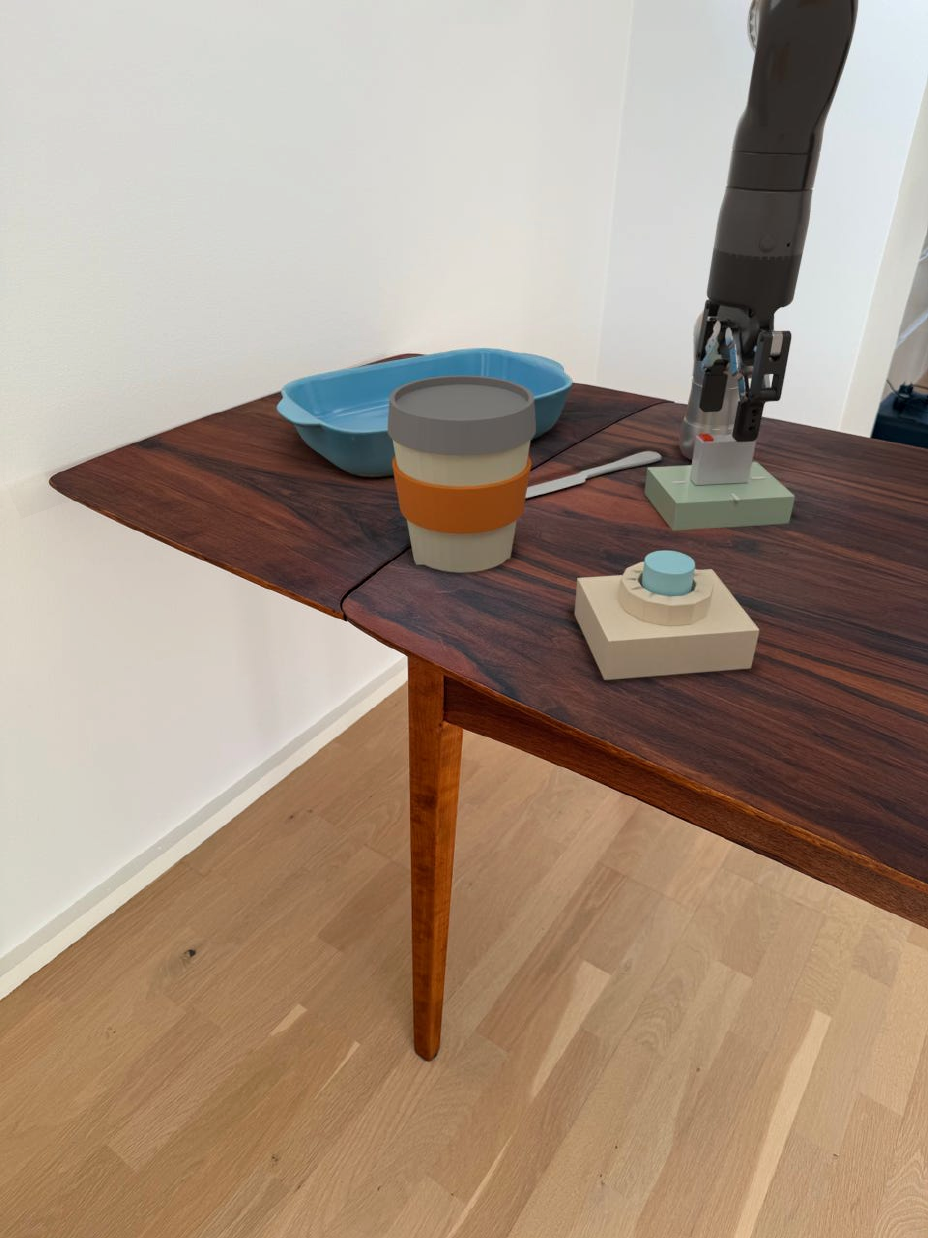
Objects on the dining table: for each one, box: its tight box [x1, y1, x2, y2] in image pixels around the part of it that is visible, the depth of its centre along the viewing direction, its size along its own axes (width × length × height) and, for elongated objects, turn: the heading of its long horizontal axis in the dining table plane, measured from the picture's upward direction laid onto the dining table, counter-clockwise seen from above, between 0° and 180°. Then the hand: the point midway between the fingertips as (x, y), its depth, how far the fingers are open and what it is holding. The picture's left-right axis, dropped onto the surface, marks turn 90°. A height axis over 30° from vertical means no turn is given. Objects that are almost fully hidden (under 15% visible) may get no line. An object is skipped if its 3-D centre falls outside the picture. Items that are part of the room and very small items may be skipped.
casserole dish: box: [276, 347, 574, 478], centre depth 102 cm, size 37×22×7 cm, turn 123°
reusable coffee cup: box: [388, 375, 536, 573], centre depth 74 cm, size 13×12×15 cm
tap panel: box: [644, 461, 796, 532], centre depth 86 cm, size 12×10×3 cm
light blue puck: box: [642, 549, 696, 597], centre depth 62 cm, size 4×4×2 cm
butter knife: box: [525, 450, 663, 499], centre depth 93 cm, size 1×24×3 cm
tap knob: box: [690, 434, 757, 485], centre depth 84 cm, size 6×2×5 cm, turn 97°
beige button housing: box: [574, 561, 760, 681], centre depth 64 cm, size 11×9×6 cm
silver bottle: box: [678, 309, 740, 461], centre depth 93 cm, size 6×7×20 cm
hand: (726, 424), depth 83 cm, fingers open, 8 cm apart
